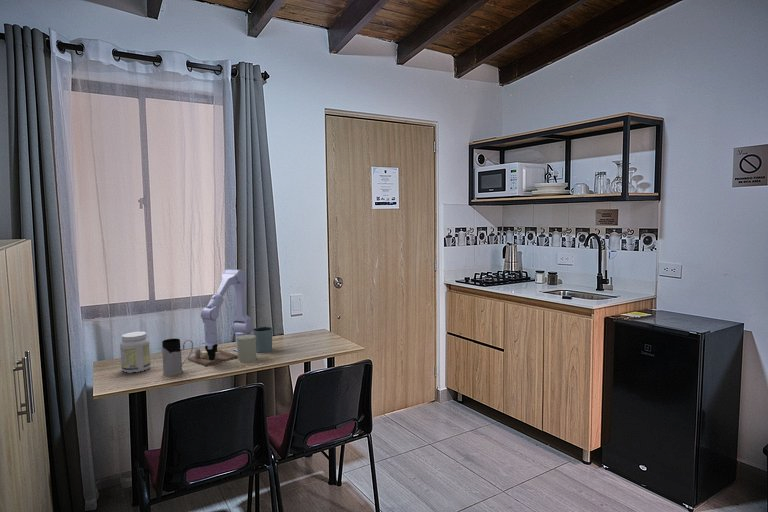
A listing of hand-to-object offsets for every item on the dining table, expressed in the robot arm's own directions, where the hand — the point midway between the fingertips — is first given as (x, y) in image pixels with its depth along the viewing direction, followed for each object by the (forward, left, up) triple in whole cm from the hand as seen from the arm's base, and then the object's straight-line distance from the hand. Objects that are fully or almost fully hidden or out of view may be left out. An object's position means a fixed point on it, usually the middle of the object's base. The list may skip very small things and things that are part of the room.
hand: (212, 360), depth 237 cm
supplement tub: (+27, -21, -2) cm, 34 cm away
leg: (-2, -5, 0) cm, 5 cm away
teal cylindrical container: (-28, +2, -2) cm, 28 cm away
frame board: (-5, -7, -2) cm, 8 cm away
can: (-14, +8, -2) cm, 16 cm away
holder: (+16, -2, -2) cm, 16 cm away
